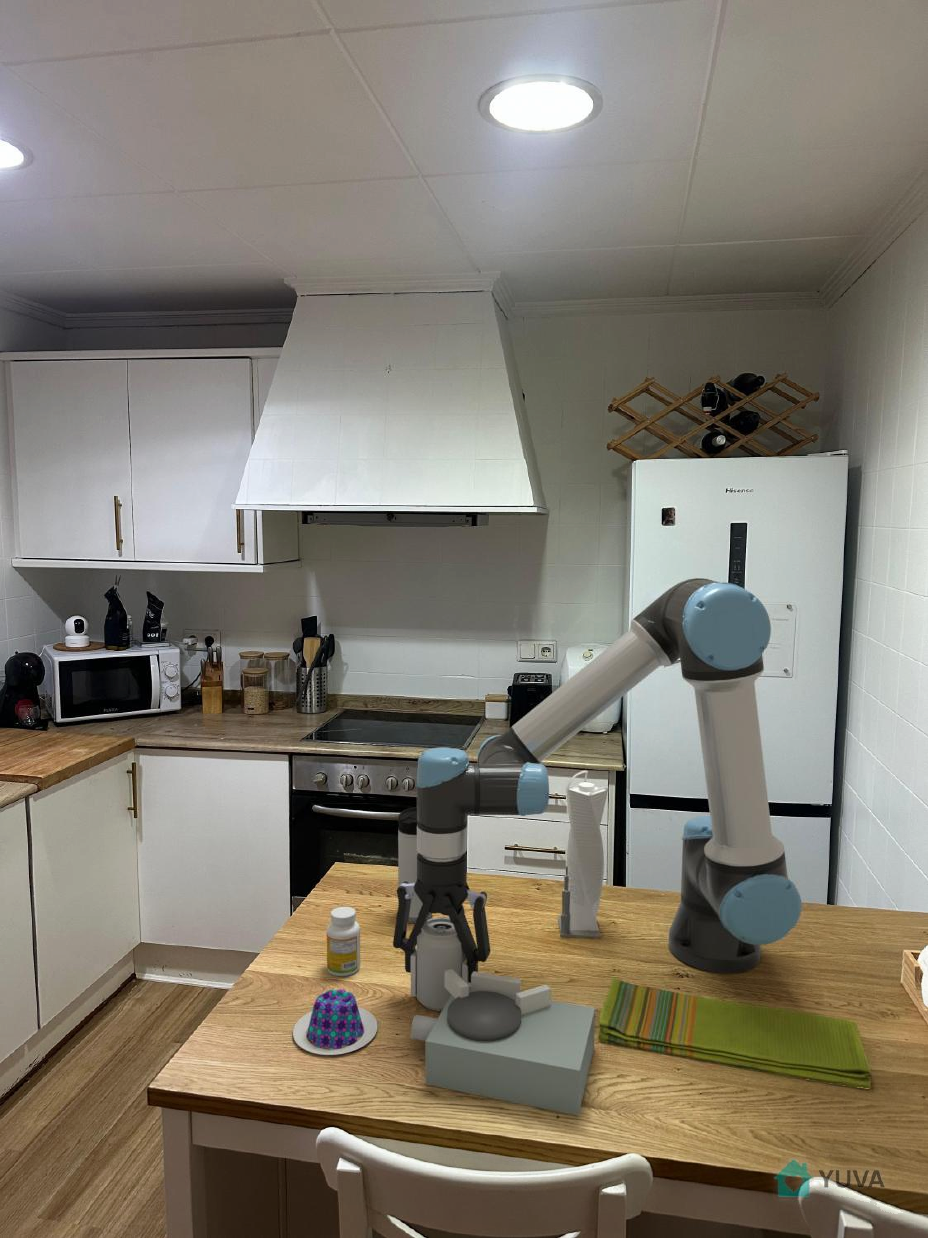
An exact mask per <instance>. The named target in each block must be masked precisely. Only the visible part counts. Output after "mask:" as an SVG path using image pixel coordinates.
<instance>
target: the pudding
mask: <svg viewBox="0 0 928 1238" xmlns="http://www.w3.org/2000/svg"><path fill="white" fill-rule="evenodd" d="M377 1032H378V1021H377V1019H376V1017H375V1016H374V1015H373V1014H372V1013H371V1012H369V1011H368V1010H367V1009H364V1008H363V1007H359V1006H358V1003H357V1000H356V997H355V994H353V993H352V992H350V991H346V990H345V989H336V990H335V989H330V990H326V991H325V992H324V993H321V994H319V995H318V996H317V997H316V999H315V1001H314V1004H313V1007H312V1010H311V1011H309V1012H307V1013H306V1014H304V1015H303V1016H301V1017H300V1018H299V1019H298V1020H297V1022H296V1023H295V1025H294V1026H293V1030H292V1038H293V1040H294V1041H295V1043H296V1045H297V1046H299V1047H300V1048H302V1049H303V1050H305V1051H307V1052H310V1053H314V1054H316V1055H323V1056H324V1055H325V1056H330V1055H331V1056H333V1055H335V1056H337V1055H342V1054H343V1055H344V1054H347V1053H351V1052H353V1051H356V1050H358V1049H360V1048H362V1047H364V1046H365V1045H367V1044H368V1043H369V1042H370V1041H372V1040H373V1038H374V1037H375V1036H376V1034H377ZM360 1037H361V1038H360ZM358 1038H359V1040H358ZM309 1040H310V1041H312V1043H311V1042H310V1041H309ZM344 1046H346V1047H344ZM325 1048H328V1049H325Z"/></svg>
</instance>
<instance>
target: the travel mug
mask: <svg viewBox="0 0 928 1238" xmlns="http://www.w3.org/2000/svg"><path fill="white" fill-rule="evenodd" d="M397 832H398V833H397V834H398V835H397V836H398V837H397V842H398V845H397V846H398V848H397V851H398V852H397V854H398V855H397V856H398V858H397V859H398V860H397V861H398V862H397V863H398V867H397V869H398V871H397V872H398V873H397V874H398V877H397V879H398V881H397V882H398V884H397V885H398V887H399V886H400V885H401V884H402V883H403V882H404V881H407V882H408V883H409V884H411V883H416V881H417V854H418V853H419V852H418V851H417V806H416V807H410V808H407V809H403V810H402V811H401V812H400V813H399V814H398V831H397ZM398 887H397V888H398ZM397 901H398V900H397ZM397 903H398V905H399V901H398V902H397ZM398 905H397V906H398ZM422 905H423V904H422V902H421V900H420V899H419V897H418V896H417V894H416V893H415V892H414V895H413V896H412V898H411V905H410V912H409V919H408V924H415V922H416V920H417V917H418V914H419V912H420V909H421V907H422ZM432 917H433V913H430V914H429V917H428V919H427V920H429V919H432Z"/></svg>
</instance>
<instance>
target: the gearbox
mask: <svg viewBox="0 0 928 1238" xmlns="http://www.w3.org/2000/svg"><path fill="white" fill-rule="evenodd" d="M444 987H445V988H446V989H447V991H448V992H449V993H450V994H451V996H450V998H449V1000H448V1001H447V1003H446V1005H445V1007H444V1009H443V1010H442V1011H440V1013H439V1016H438V1017H437V1018H436V1017H433V1016H432V1017H431V1016H425V1015H420V1014H415V1015H414V1017H413V1019H412V1021H411V1022H412V1023H411V1025H410V1026H411V1027H410V1036H411V1039H414V1040H419V1041H423V1042H425V1044H424V1045H425V1048H424V1049H425V1055H424V1056H425V1057H424V1058H425V1059H424V1060H425V1065H424V1067H425V1072H424V1073H425V1075H424V1076H425V1077H424V1079H425V1080H424V1081H425V1082H424V1083H425V1085H427V1086H432V1087H438V1088H442V1089H447V1090H452V1091H455V1092H462V1093H466V1094H472V1095H477V1096H480V1097H485V1098H491V1099H496V1100H499V1101H506V1102H511V1103H515V1104H519V1105H525V1106H530V1107H534V1108H538V1109H544V1110H550V1111H553V1112H554V1111H555V1112H559V1113H564V1114H567V1115H573V1116H577V1117H579V1116H580V1111H581V1107H582V1101H583V1098H584V1095H585V1094H584V1093H585V1090H586V1085H587V1082H588V1081H587V1080H588V1076H589V1071H590V1068H591V1063H592V1059H593V1054H594V1049H595V1028H596V1027H595V1026H596V1025H595V1023H596V1008H595V1007H592V1006H587V1005H586V1006H585V1005H581V1004H576V1003H575V1004H574V1003H569V1002H562V1001H556V1000H552V997H551V996H552V995H551V994H552V988H551V987H549V986H548V985H547V984H543V985H539V986H537V987H536V986H535V987H533V988H529V989H526V990H524V991H521V990H522V978H517V977H516V978H515V977H513V976H512V977H511V976H504V975H497V974H492V973H487V972H481V971H478V972H475V971H473V973H472V975H471V987H469V986H468V985H467V983H466V982H465V981H464V980H463V979H462V978H461V977H460V976H459V975H458V974H457V973H456V972H455V971H454V970H453V969H450V970H446V971H445V986H444Z"/></svg>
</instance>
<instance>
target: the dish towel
mask: <svg viewBox="0 0 928 1238" xmlns="http://www.w3.org/2000/svg"><path fill="white" fill-rule="evenodd" d="M610 982H611V983H610V986H609V989H608V992H607V995H606V996H605V999H604V1003H603V1006H602V1008H601V1009H600V1010H601V1011H600V1014H599V1020H598V1022H599V1023H598V1025H599V1027H598V1028H599V1031H598V1041H599V1042H600V1043H602V1044H603V1043H604V1044H610V1045H614V1046H618V1047H624V1048H627V1049H632V1050H639V1051H645V1052H650V1053H654V1054H660V1055H661V1054H662V1055H666V1056H667V1055H668V1056H673V1057H678V1058H684V1059H689V1060H695V1061H699V1062H704V1063H710V1064H716V1065H721V1066H728V1067H732V1068H737V1069H743V1070H749V1071H754V1072H755V1071H756V1072H760V1073H766V1074H772V1075H776V1076H781V1075H782V1076H781V1077H787V1076H789V1077H788V1078H792V1077H794V1079H798V1078H802V1079H801V1080H803V1079H809V1080H810V1081H811V1080H812V1081H811V1082H816V1081H818V1082H817V1083H821V1082H825V1083H824V1084H828V1083H832V1084H831V1085H834V1084H839V1085H838V1086H841V1085H845V1086H844V1087H847V1086H851V1087H850V1088H853V1087H863V1088H869V1089H870V1088H871V1086H872V1081H871V1080H870V1079H871V1077H872V1071H871V1067H870V1064H869V1060H868V1058H867V1057H868V1056H867V1054H866V1050H865V1047H864V1045H863V1042H862V1038H861V1034H860V1031H859V1027H858V1025H857V1024H858V1023H856V1021H852V1020H848V1019H845V1018H840V1017H833V1016H832V1017H831V1016H827V1015H826V1016H825V1015H821V1014H817V1013H816V1014H815V1013H809V1012H803V1011H797V1010H791V1009H786V1008H785V1009H783V1008H776V1007H770V1006H759V1005H753V1004H749V1003H748V1004H747V1003H742V1002H736V1001H729V1000H723V999H715V998H710V997H704V996H700V995H698V996H697V995H692V994H687V993H683V992H676V991H671V990H666V989H661V988H657V987H650V986H647V985H646V986H645V985H639V984H635V983H634V984H633V983H630V982H627V981H624V980H622V979H619V978H611V981H610ZM809 1080H808V1081H809ZM814 1080H815V1081H814ZM810 1081H809V1082H810ZM871 1089H872V1088H871ZM871 1089H870V1090H871Z"/></svg>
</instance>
